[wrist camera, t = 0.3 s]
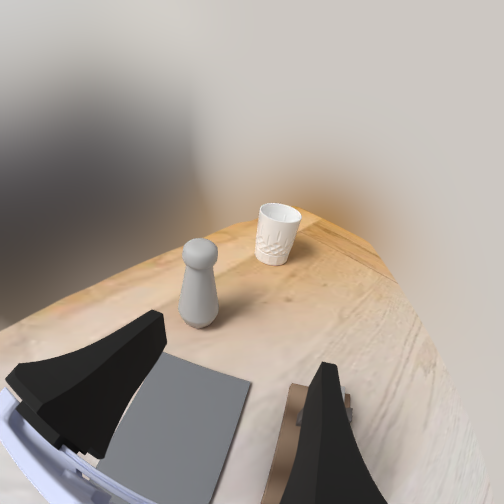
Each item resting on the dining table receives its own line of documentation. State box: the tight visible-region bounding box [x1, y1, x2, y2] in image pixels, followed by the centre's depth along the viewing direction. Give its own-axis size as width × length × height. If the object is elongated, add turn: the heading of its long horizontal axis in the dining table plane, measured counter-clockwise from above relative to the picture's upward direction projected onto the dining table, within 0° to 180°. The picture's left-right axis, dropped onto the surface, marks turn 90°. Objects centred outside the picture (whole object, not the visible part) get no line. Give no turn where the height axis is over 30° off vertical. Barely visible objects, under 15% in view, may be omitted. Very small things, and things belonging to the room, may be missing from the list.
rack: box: [261, 383, 353, 504], centre depth 19 cm, size 26×8×5 cm, turn 166°
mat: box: [89, 352, 250, 504], centre depth 22 cm, size 24×12×1 cm, turn 166°
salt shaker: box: [178, 238, 219, 329], centre depth 35 cm, size 6×6×13 cm
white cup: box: [255, 203, 302, 266], centre depth 52 cm, size 8×8×10 cm
